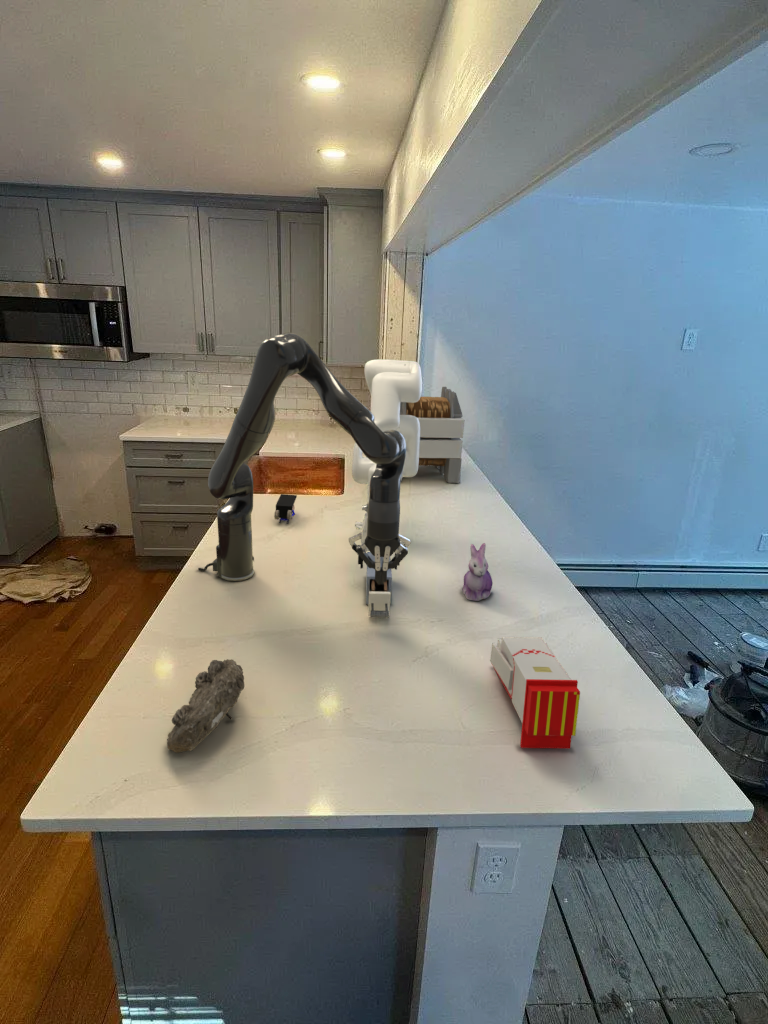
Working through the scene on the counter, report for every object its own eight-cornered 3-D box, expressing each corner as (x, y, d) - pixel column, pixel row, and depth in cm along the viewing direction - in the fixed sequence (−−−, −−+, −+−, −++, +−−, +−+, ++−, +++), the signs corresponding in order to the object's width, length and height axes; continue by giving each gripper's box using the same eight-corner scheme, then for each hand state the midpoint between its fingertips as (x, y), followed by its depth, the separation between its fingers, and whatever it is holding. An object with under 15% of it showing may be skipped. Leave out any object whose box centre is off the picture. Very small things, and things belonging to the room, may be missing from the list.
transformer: (382, 463, 289) (386, 382, 275) (445, 464, 293) (451, 384, 279) (390, 482, 257) (394, 392, 243) (460, 483, 261) (468, 394, 247)
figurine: (473, 605, 153) (479, 554, 148) (452, 588, 162) (457, 540, 157) (501, 598, 157) (507, 549, 152) (479, 583, 166) (484, 535, 161)
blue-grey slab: (390, 605, 152) (392, 577, 149) (365, 604, 152) (366, 576, 149) (388, 578, 167) (390, 552, 164) (366, 577, 167) (367, 551, 164)
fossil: (192, 660, 117) (244, 628, 112) (224, 691, 120) (276, 661, 115) (142, 746, 98) (202, 712, 93) (182, 779, 101) (242, 748, 96)
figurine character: (292, 529, 203) (297, 511, 216) (292, 510, 199) (297, 492, 213) (273, 529, 202) (280, 510, 216) (272, 510, 199) (279, 492, 213)
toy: (539, 620, 128) (589, 687, 99) (533, 674, 131) (581, 755, 102) (485, 619, 128) (521, 686, 99) (481, 673, 131) (514, 755, 101)
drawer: (390, 628, 139) (391, 605, 137) (368, 628, 139) (368, 604, 137) (387, 589, 158) (388, 568, 156) (368, 588, 158) (369, 567, 156)
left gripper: (354, 521, 129) (353, 589, 134) (412, 523, 129) (408, 590, 135) (355, 509, 136) (353, 575, 142) (410, 511, 136) (406, 576, 142)
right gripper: (348, 513, 151) (347, 572, 157) (413, 516, 151) (409, 573, 157) (349, 504, 158) (348, 560, 164) (411, 506, 158) (408, 562, 164)
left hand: (380, 582), depth 138 cm, fingers closed
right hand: (378, 566), depth 160 cm, fingers open, 9 cm apart
